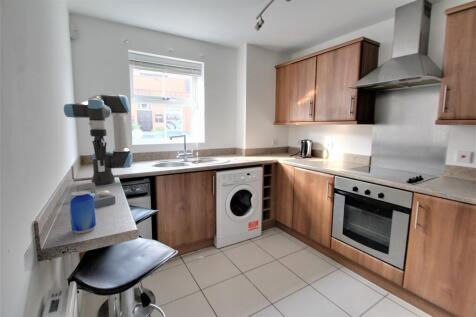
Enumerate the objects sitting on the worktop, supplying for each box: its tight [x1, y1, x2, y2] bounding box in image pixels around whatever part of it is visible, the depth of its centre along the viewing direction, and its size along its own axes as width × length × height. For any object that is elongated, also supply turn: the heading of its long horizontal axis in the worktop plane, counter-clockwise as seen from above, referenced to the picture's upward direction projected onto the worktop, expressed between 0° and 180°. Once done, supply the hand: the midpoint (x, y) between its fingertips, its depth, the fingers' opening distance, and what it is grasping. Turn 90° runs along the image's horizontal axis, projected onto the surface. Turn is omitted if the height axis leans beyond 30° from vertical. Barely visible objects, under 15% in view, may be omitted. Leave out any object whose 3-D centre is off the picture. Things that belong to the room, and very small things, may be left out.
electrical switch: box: [75, 182, 98, 194], centre depth 135 cm, size 9×5×9 cm, turn 141°
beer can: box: [68, 190, 97, 234], centre depth 94 cm, size 8×8×16 cm
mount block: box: [94, 193, 116, 209], centre depth 126 cm, size 13×12×4 cm
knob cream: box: [99, 190, 110, 197], centre depth 129 cm, size 4×4×6 cm
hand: (101, 171), depth 128 cm, fingers closed
